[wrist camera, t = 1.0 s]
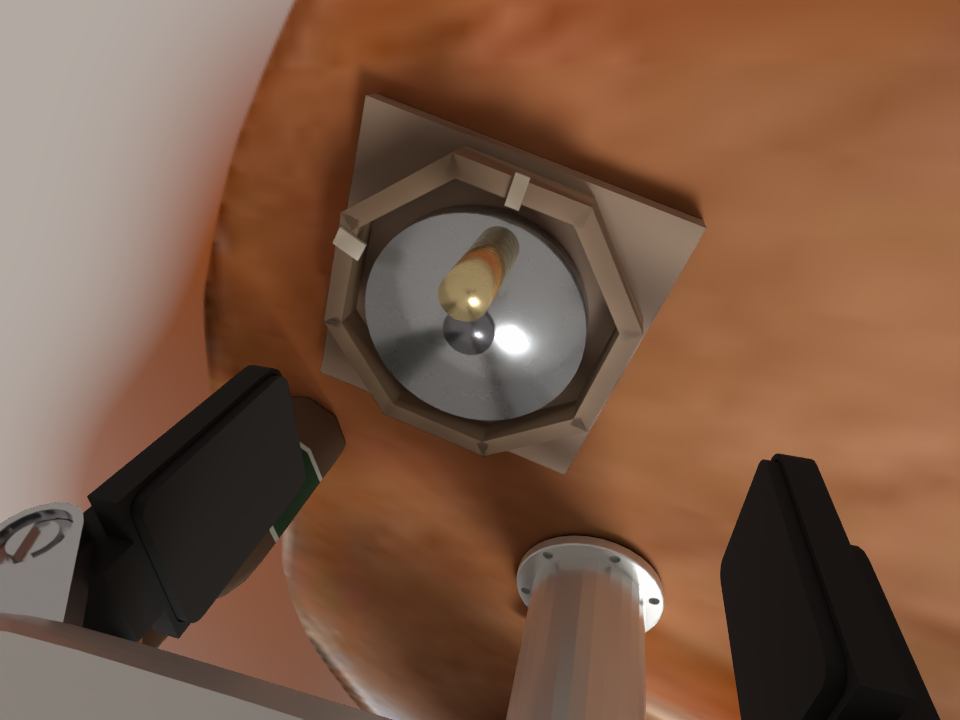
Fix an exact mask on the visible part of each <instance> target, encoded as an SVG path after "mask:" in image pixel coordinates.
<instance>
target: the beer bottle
mask: <svg viewBox="0 0 960 720" xmlns="http://www.w3.org/2000/svg"><path fill="white" fill-rule="evenodd" d="M291 401H292V406H293V412H294V417H295V422H296V427H297V432H298V437H299V442H300V447H301V452H302V457H303V462H304V467H305V480H304V483H303V486H302V487H301V489H300V490H299V492H298V493H297V494H296V496H295V497H294V498H293V500H292V501H291V502H290V503H289V505H288V506H287V507H286V509H285V510H284V511H283V513H282V514H281V515H280V516H279V518H278V519H277V520H276V522H275V523H274V524H273V526H272V527H271V528H270V529H269V531H268V532H267V533H266V535H265V536H264V537H263V539H262V540H261V541H260V543H259V544H258V545H257V546H256V548H255V549H254V550H253V552H252V553H251V554H250V556H249V557H248V558H247V559H246V561H245V562H244V563H243V565H242V566H241V567H240V569H239V570H238V571H237V572H236V574H235V575H234V576H233V578H232V579H231V580H230V582H229V583H228V584H227V586H226V587H225V588H224V589H223V591H222V592H221V593H220V595H219V596H218V597H217V598H219V597H222V596H224V595H226V594H228V593H229V592H230V591H232V590H233V589H235V588H236V587H237V586H239V585H240V584H242V583H243V582H244V581H245V580H246V579H247V578H248V577H249V576H250V575H251V573H252V572H253V571H254V570H255V569H256V568H257V566H258V565H259V564H260V563H261V562H262V560H263V559H264V558H265V556H266V555H267V554H268V552H269V551H270V550H271V548H272V547H273V546H274V544H275V543H276V542H277V540H278V539H279V538H280V536H281V535H282V534H283V532H284V531H285V529H286V528H287V527H288V525H289V524H290V523H291V521H292V520H293V518H294V517H295V516H296V514H297V513H298V512H299V510H300V509H301V508H302V506H303V505H304V503H305V502H306V501H307V499H308V498H309V497H310V495H311V494H312V493H313V491H314V490H315V488H316V487H317V486H318V484H319V483H320V482H321V480H322V479H323V477H324V476H325V475H326V473H327V472H328V471H329V469H330V468H331V467H332V465H333V464H334V462H335V461H336V460H337V458H338V456H339V455H340V453H341V452H342V450H343V449H344V447H345V440H344V437H343V435H342V432H341V429H340V427H339V424H338V421H337V419H336V416H335V415H333V414H332V413H330V412H329V411H327V410H326V409H325V408H323V407H322V406H320V405H319V404H317V403H316V402H315V401H313V400H312V399H310V398H309V397H291ZM167 637H168V635H165V634H161V633H158V632H154V631H153V628H152V626H151V627H150V628H149V630H148V631H147V632H146V633H145V634H144V636H143V637H142V644H144V645H148V646H151V647H154V648H158V647H159V646H160V644H161V643H162V642H163V641H164V640H165V639H166V638H167Z"/></svg>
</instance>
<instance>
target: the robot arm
mask: <svg viewBox="0 0 960 720" xmlns="http://www.w3.org/2000/svg"><path fill="white" fill-rule="evenodd" d="M304 480H305V467H304V462H303V457H302V452H301V447H300V442H299V437H298V432H297V427H296V422H295V417H294V412H293V406H292V401H291V396H290V391H289V386H288V382H287V380H286V379H285V378H284V377H282V375H281V373H280V372H279V370H277V369H273V368H267V367H262V366H256V365H249V366H247V367H246V368H244V369H243V370H242V371H241V372H239V373H238V374H237V375H236V376H234V377H233V378H232V379H231V380H229V381H228V382H227V383H226V384H225V385H223V386H222V387H221V388H220V389H218V390H217V391H216V392H215V393H214V394H212V395H211V396H210V397H209V398H208V399H206V400H205V401H204V402H202V403H201V404H200V405H199V406H198V407H196V408H195V409H194V410H193V411H191V412H190V413H189V414H188V415H186V416H185V417H184V418H183V419H182V420H180V421H179V422H178V423H177V424H176V425H174V426H173V427H172V428H171V429H169V430H168V431H167V432H166V433H164V434H163V435H162V436H161V437H159V438H158V439H157V440H156V441H155V442H153V443H152V444H151V445H150V446H148V447H147V448H146V449H145V450H144V451H142V452H141V453H140V454H139V455H137V456H136V457H135V458H134V459H133V460H131V461H130V462H129V463H128V464H126V465H125V466H124V467H123V468H122V469H120V470H119V471H118V472H116V473H115V474H114V475H113V476H112V477H110V478H109V479H108V480H107V481H105V482H104V483H103V484H102V485H101V486H99V487H98V488H97V489H96V490H94V491H93V492H92V493H91V494H89V495H88V496H87V497H88V499H89V501H90V503H91V505H92V506H91V507H90V508H89V509H88V510H86V511H85V512H84V513H83V512H82V511H81V510H80V508H79V507H78V506H75V505H73V504H70V503H56V502H55V503H49V504H44V505H39V506H36V507H33V508H30V509H27V510H24V511H22V512H20V513H18V514H16V515H14V516H12V517H10V518H8V519H7V520H5V521H4V522H2V523H1V524H0V720H392V719H389V718H385V717H382V716H379V715H376V714H372V713H369V712H366V711H363V710H359V709H356V708H353V707H349V706H346V705H343V704H340V703H336V702H333V701H330V700H326V699H323V698H320V697H317V696H313V695H310V694H307V693H303V692H300V691H297V690H293V689H290V688H287V687H284V686H281V685H277V684H274V683H271V682H268V681H264V680H261V679H258V678H254V677H251V676H247V675H244V674H241V673H238V672H234V671H231V670H227V669H224V668H221V667H217V666H214V665H211V664H208V663H204V662H201V661H198V660H194V659H191V658H188V657H184V656H181V655H178V654H174V653H171V652H168V651H164V650H161V649H158V648H154V647H151V646H148V645H144V644H142V637H143V636H144V634H145V633H146V632H147V631H148V630H149V628H150V627H151V626H152V628H153V631H154V632H158V633H161V634H165V635H168V636H172V637H175V638H180V636H181V635H182V634H183V632H184V631H185V630H186V629H187V627H188V626H189V625H190V623H194V622H197V621H198V620H200V619H201V618H202V616H203V615H204V614H205V613H206V612H207V610H208V609H209V608H210V606H211V605H212V604H213V602H214V601H215V600H216V599H217V597H218V596H219V595H220V593H221V592H222V591H223V589H224V588H225V587H226V586H227V584H228V583H229V582H230V580H231V579H232V578H233V576H234V575H235V574H236V572H237V571H238V570H239V569H240V567H241V566H242V565H243V563H244V562H245V561H246V559H247V558H248V557H249V556H250V554H251V553H252V552H253V550H254V549H255V548H256V546H257V545H258V544H259V543H260V541H261V540H262V539H263V537H264V536H265V535H266V533H267V532H268V531H269V529H270V528H271V527H272V526H273V524H274V523H275V522H276V520H277V519H278V518H279V516H280V515H281V514H282V513H283V511H284V510H285V509H286V507H287V506H288V505H289V503H290V502H291V501H292V500H293V498H294V497H295V496H296V494H297V493H298V492H299V490H300V489H301V487H302V486H303V483H304ZM720 579H721V586H722V593H723V600H724V607H725V613H726V620H727V627H728V633H729V640H730V647H731V653H732V660H733V667H734V674H735V680H736V687H737V694H738V700H739V707H740V714H741V720H940V718H939V716H938V714H937V711H936V709H935V707H934V705H933V702H932V700H931V698H930V696H929V693H928V691H927V689H926V687H925V684H924V682H923V680H922V678H921V675H920V673H919V671H918V669H917V666H916V664H915V662H914V660H913V657H912V655H911V653H910V651H909V648H908V646H907V644H906V642H905V639H904V637H903V635H902V633H901V630H900V628H899V626H898V624H897V621H896V619H895V617H894V615H893V612H892V610H891V608H890V606H889V603H888V601H887V599H886V597H885V594H884V592H883V590H882V588H881V585H880V583H879V581H878V579H877V576H876V574H875V572H874V570H873V567H872V565H871V563H870V561H869V559H868V557H867V555H866V554H865V552H864V551H863V550H862V549H861V548H859V547H858V546H854V545H850V543H849V540H848V538H847V535H846V533H845V531H844V528H843V526H842V524H841V521H840V519H839V516H838V514H837V512H836V509H835V507H834V505H833V502H832V500H831V497H830V495H829V493H828V490H827V488H826V485H825V483H824V481H823V478H822V476H821V474H820V471H819V469H818V466H817V464H816V463H815V461H814V460H812V459H807V458H801V457H795V456H789V455H784V454H775V455H774V456H773V457H772V459H771V461H770V460H761V462H760V463H759V465H758V468H757V470H756V473H755V476H754V478H753V481H752V483H751V486H750V489H749V491H748V494H747V496H746V499H745V502H744V504H743V507H742V509H741V512H740V515H739V517H738V520H737V523H736V525H735V528H734V530H733V533H732V536H731V538H730V541H729V543H728V546H727V549H726V551H725V554H724V557H723V559H722V563H721V571H720ZM516 580H517V589H518V592H519V595H520V597H521V598H522V600H523V602H524V604H525V605H526V606H527V607H528V612H527V617H526V622H525V627H524V632H523V637H522V642H521V647H520V652H519V657H518V662H517V667H516V672H515V677H514V682H513V687H512V692H511V697H510V702H509V707H508V712H507V717H506V720H646V682H645V632H647V631H648V630H650V629H651V628H652V627H653V626H654V625H656V623H657V622H658V621H659V619H660V618H661V616H662V613H663V610H664V591H663V585H662V583H661V581H660V579H659V576H658V575H657V573H656V572H655V571H654V569H653V568H652V567H651V566H650V565H649V564H648V563H647V562H646V561H645V560H644V559H643V558H641V557H640V556H638V555H637V554H635V553H634V552H632V551H631V550H629V549H627V548H625V547H623V546H620V545H618V544H616V543H613V542H610V541H607V540H604V539H600V538H594V537H589V536H562V537H556V538H552V539H548V540H545V541H543V542H541V543H539V544H537V545H535V546H534V547H532V548H531V549H530V550H528V551H527V553H526V554H525V555H524V556H523V558H522V560H521V562H520V565H519V568H518V573H517V578H516Z"/></svg>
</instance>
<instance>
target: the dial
mask: <svg viewBox="0 0 960 720" xmlns="http://www.w3.org/2000/svg"><path fill="white" fill-rule="evenodd" d="M365 313H366V320H367V325H368V329H369V332H370V336H371V339H372V341H373V343H374V346H375V348H376V350H377V352H378V354H379V356H380V357H381V359H382V361H383V362H384V364H385V365H386V367H387V368H388V369H389V371H390V372H391V373H392V374H393V375H394V377H395V378H396V379H397V380H398V381H399V382H400V383H401V384H402V385H403V386H404V387H405V388H407V389H408V390H409V391H410V392H411V393H413V394H414V395H415V396H417V397H418V398H420V399H421V400H423V401H424V402H426V403H428V404H429V405H431V406H433V407H436V408H438V409H440V410H442V411H444V412H447V413H450V414H453V415H456V416H460V417H464V418H469V419H476V420H506V419H511V418H516V417H520V416H523V415H526V414H529V413H531V412H533V411H536V410H538V409H540V408H542V407H543V406H545V405H546V404H548V403H549V402H551V401H552V400H553V399H555V398H556V397H557V396H558V395H559V394H560V393H561V392H562V391H563V390H564V389H565V388H566V386H567V385H568V384H569V383H570V381H571V380H572V378H573V377H574V375H575V373H576V372H577V369H578V367H579V365H580V362H581V360H582V356H583V352H584V348H585V343H586V338H587V332H588V323H589V308H588V300H587V295H586V290H585V287H584V284H583V282H582V279H581V276H580V274H579V272H578V270H577V268H576V266H575V264H574V262H573V261H572V260H571V258H570V257H569V255H568V254H567V252H566V251H565V250H564V249H563V248H562V246H561V245H560V244H559V243H558V242H557V241H556V240H555V239H554V238H553V237H552V236H551V235H549V234H548V233H547V232H546V231H545V230H544V229H542V228H541V227H539V226H538V225H536V224H535V223H533V222H531V221H530V220H528V219H526V218H524V217H522V216H520V215H518V214H516V213H513V212H510V211H507V210H504V209H501V208H496V207H491V206H486V205H469V204H468V205H458V206H451V207H447V208H443V209H439V210H436V211H434V212H431V213H429V214H427V215H425V216H423V217H421V218H420V219H418V220H416V221H415V222H413V223H412V224H411V225H410V226H408V227H407V228H406V229H404V230H403V231H402V232H401V233H399V234H398V235H397V236H396V237H395V238H393V239H392V240H391V241H390V242H389V243H388V245H387V246H386V247H385V248H384V249H383V250H382V252H381V253H380V255H379V256H378V258H377V259H376V261H375V263H374V265H373V268H372V270H371V272H370V275H369V279H368V282H367V287H366V295H365Z"/></svg>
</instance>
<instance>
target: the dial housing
mask: <svg viewBox="0 0 960 720" xmlns="http://www.w3.org/2000/svg"><path fill="white" fill-rule="evenodd" d="M468 204H469V205H486V206H491V207H496V208H501V209H504V210H507V211H510V212H513V213H516V214H518V215H520V216H522V217H524V218H526V219H528V220H530V221H531V222H533V223H535V224H536V225H538V226H539V227H541V228H542V229H544V230H545V231H546V232H547V233H548V234H549V235H551V236H552V237H553V238H554V239H555V240H556V241H557V242H558V243H559V244H560V245H561V246H562V248H563V249H564V250H565V251H566V252H567V254H568V255H569V257H570V258H571V260H572V261H573V262H574V264H575V266H576V268H577V270H578V272H579V274H580V276H581V279H582V282H583V284H584V287H585V290H586V295H587V300H588V308H589V323H588V332H587V338H586V343H585V348H584V352H583V356H582V360H581V362H580V365H579V367H578V369H577V372H576V373H575V375H574V377H573V378H572V380H571V381H570V383H569V384H568V385H567V386H566V388H565V389H564V390H563V391H562V392H561V393H560V394H559V395H558V396H557V397H556V398H555V399H553V400H552V401H551V402H549V403H548V404H546V405H545V406H543V407H542V408H540V409H538V410H536V411H533V412H531V413H529V414H526V415H523V416H520V417H516V418H511V419H506V420H476V419H469V418H464V417H460V416H456V415H453V414H450V413H447V412H444V411H442V410H440V409H438V408H436V407H433V406H431V405H429V404H428V403H426V402H424V401H423V400H421V399H420V398H418V397H417V396H415V395H414V394H413V393H411V392H410V391H409V390H408V389H407V388H405V387H404V386H403V385H402V384H401V383H400V382H399V381H398V380H397V379H396V378H395V377H394V375H393V374H392V373H391V372H390V371H389V369H388V368H387V367H386V365H385V364H384V362H383V361H382V359H381V357H380V356H379V354H378V352H377V350H376V348H375V346H374V343H373V341H372V339H371V336H370V332H369V329H368V325H367V320H366V313H365V295H366V287H367V282H368V279H369V275H370V272H371V270H372V268H373V265H374V263H375V261H376V259H377V258H378V256H379V255H380V253H381V252H382V250H383V249H384V248H385V247H386V246H387V245H388V243H389V242H390V241H391V240H392V239H393V238H395V237H396V236H397V235H398V234H399V233H401V232H402V231H403V230H404V229H406V228H407V227H408V226H410V225H411V224H412V223H413V222H415V221H416V220H418V219H420V218H421V217H423V216H425V215H427V214H429V213H431V212H434V211H436V210H439V209H443V208H447V207H451V206H458V205H468ZM705 230H706V226H705V223H704V220H701V219H699V218H696V217H693V216H691V215H688V214H686V213H683V212H681V211H678V210H676V209H673V208H670V207H668V206H665V205H663V204H660V203H658V202H655V201H652V200H650V199H647V198H645V197H642V196H640V195H637V194H634V193H632V192H629V191H627V190H624V189H622V188H619V187H616V186H614V185H611V184H609V183H606V182H604V181H601V180H599V179H596V178H593V177H591V176H588V175H586V174H583V173H581V172H578V171H575V170H573V169H570V168H568V167H565V166H563V165H560V164H557V163H555V162H552V161H550V160H547V159H545V158H542V157H540V156H537V155H534V154H532V153H529V152H527V151H524V150H522V149H519V148H516V147H514V146H511V145H509V144H506V143H504V142H501V141H498V140H496V139H493V138H491V137H488V136H486V135H483V134H481V133H478V132H475V131H473V130H470V129H468V128H465V127H463V126H460V125H457V124H455V123H452V122H450V121H447V120H445V119H442V118H439V117H437V116H434V115H432V114H429V113H427V112H424V111H421V110H419V109H416V108H414V107H411V106H409V105H406V104H404V103H401V102H398V101H396V100H393V99H391V98H388V97H386V96H383V95H380V94H378V93H375V94H370V95H366V97H365V103H364V109H363V115H362V121H361V128H360V134H359V140H358V146H357V152H356V158H355V164H354V170H353V176H352V183H351V189H350V195H349V201H348V207H347V209H346V210H344V211H342V212H341V215H340V221H339V227H338V232H337V234H336V237H335V239H334V241H333V244H334V245H336V247H335V253H334V259H333V266H332V272H331V278H330V285H329V291H328V297H327V304H326V310H325V317H324V323H325V325H326V326H327V328H328V329H327V335H326V342H325V348H324V354H323V360H322V366H321V372H322V373H324V374H327V375H329V376H331V377H334V378H336V379H338V380H341V381H343V382H346V383H348V384H350V385H353V386H355V387H357V388H360V389H362V390H365V391H367V392H369V393H370V394H371V395H372V397H373V398H374V400H375V402H376V403H377V405H378V406H379V408H380V409H381V411H382V412H383V414H385V415H387V416H390V417H392V418H394V419H397V420H399V421H401V422H404V423H406V424H408V425H411V426H413V427H416V428H418V429H420V430H423V431H425V432H427V433H430V434H432V435H434V436H437V437H439V438H442V439H444V440H446V441H449V442H451V443H453V444H456V445H458V446H460V447H463V448H465V449H467V450H470V451H472V452H475V453H477V454H479V455H482V456H488V455H492V454H496V453H500V452H504V451H509V452H511V453H514V454H516V455H519V456H521V457H523V458H526V459H528V460H530V461H533V462H535V463H537V464H540V465H542V466H545V467H547V468H549V469H552V470H554V471H556V472H559V473H561V474H564V475H565V473H566V471H567V470H568V468H569V466H570V464H571V463H572V461H573V459H574V457H575V456H576V454H577V452H578V451H579V449H580V447H581V445H582V444H583V442H584V440H585V438H586V437H587V435H588V433H589V431H590V430H591V428H592V426H593V424H594V423H595V421H596V419H597V417H598V416H599V414H600V412H601V411H602V409H603V407H604V405H605V404H606V402H607V400H608V398H609V397H610V395H611V393H612V391H613V390H614V388H615V386H616V384H617V383H618V381H619V379H620V377H621V376H622V374H623V372H624V370H625V369H626V367H627V365H628V364H629V362H630V360H631V358H632V357H633V355H634V353H635V351H636V350H637V348H638V346H639V344H640V343H641V341H642V339H643V337H644V336H645V334H646V332H647V330H648V329H649V327H650V325H651V324H652V322H653V320H654V318H655V317H656V315H657V313H658V311H659V310H660V308H661V306H662V304H663V303H664V301H665V299H666V297H667V296H668V294H669V292H670V290H671V289H672V287H673V285H674V284H675V282H676V280H677V278H678V277H679V275H680V273H681V271H682V270H683V268H684V266H685V264H686V263H687V261H688V259H689V257H690V256H691V254H692V252H693V250H694V249H695V247H696V245H697V243H698V242H699V240H700V238H701V237H702V235H703V233H704V231H705Z"/></svg>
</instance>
